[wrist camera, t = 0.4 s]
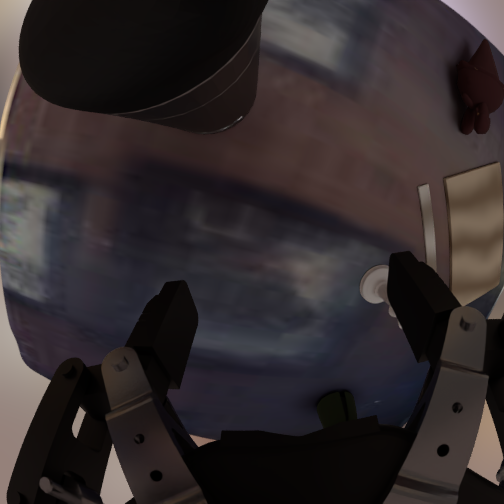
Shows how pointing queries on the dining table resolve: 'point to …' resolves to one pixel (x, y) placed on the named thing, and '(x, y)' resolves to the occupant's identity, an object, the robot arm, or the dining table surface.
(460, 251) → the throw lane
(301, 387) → the dining table surface
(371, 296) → the chess piece
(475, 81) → the dark brown lumpy figurine
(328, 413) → the character mug
